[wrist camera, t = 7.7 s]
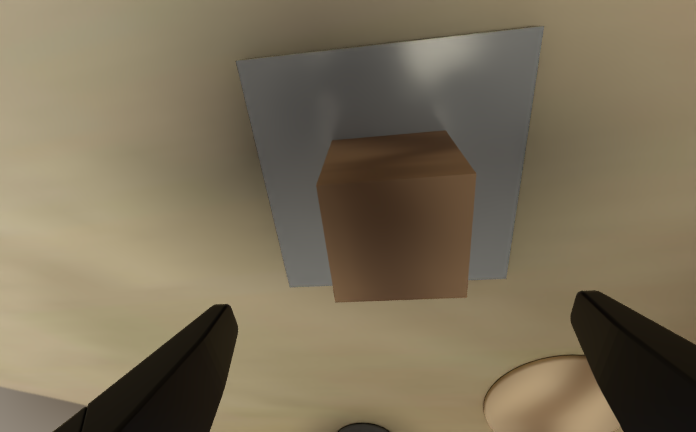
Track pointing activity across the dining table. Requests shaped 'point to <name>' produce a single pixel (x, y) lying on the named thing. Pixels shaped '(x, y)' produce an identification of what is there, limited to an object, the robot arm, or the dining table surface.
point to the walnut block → (397, 217)
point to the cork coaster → (549, 399)
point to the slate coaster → (394, 128)
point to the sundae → (363, 428)
